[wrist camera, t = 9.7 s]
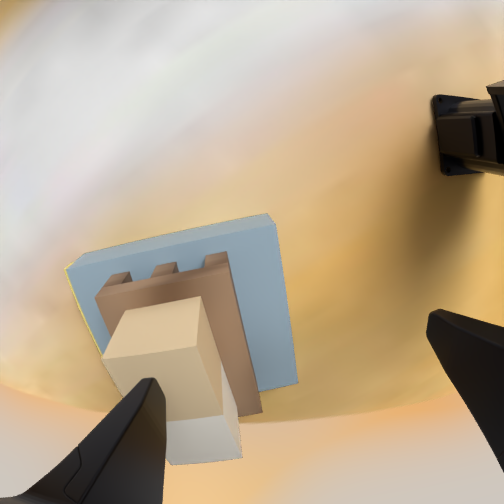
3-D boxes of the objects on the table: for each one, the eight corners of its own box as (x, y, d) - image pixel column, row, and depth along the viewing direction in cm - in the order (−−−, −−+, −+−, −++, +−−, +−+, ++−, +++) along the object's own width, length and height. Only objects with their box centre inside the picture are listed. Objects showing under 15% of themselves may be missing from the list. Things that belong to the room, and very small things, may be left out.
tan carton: (200, 295, 14) (196, 345, 10) (220, 360, 15) (223, 414, 12) (125, 310, 14) (100, 359, 10) (151, 370, 15) (140, 423, 11)
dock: (267, 213, 19) (275, 224, 16) (289, 358, 23) (298, 383, 20) (80, 254, 19) (62, 270, 16) (135, 383, 23) (129, 408, 20)
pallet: (226, 251, 17) (229, 271, 14) (256, 382, 20) (262, 412, 17) (111, 274, 16) (94, 297, 14) (163, 396, 20) (158, 426, 17)
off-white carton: (220, 360, 15) (223, 414, 12) (236, 406, 17) (242, 457, 13) (152, 370, 15) (140, 423, 11) (175, 415, 17) (171, 465, 13)
